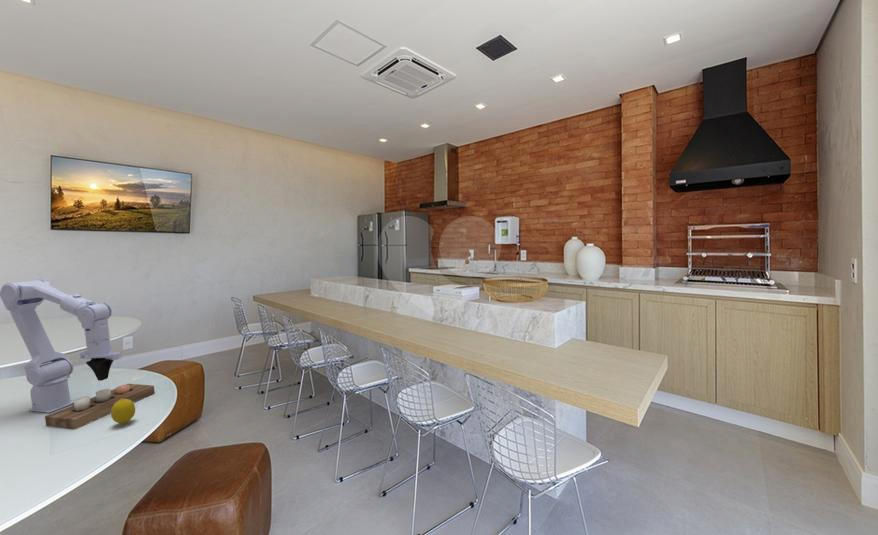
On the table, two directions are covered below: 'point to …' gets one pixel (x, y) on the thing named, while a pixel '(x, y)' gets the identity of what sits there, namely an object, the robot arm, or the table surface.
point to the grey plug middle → (103, 395)
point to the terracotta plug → (122, 389)
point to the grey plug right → (82, 403)
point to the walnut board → (96, 408)
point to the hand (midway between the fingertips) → (103, 379)
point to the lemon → (123, 411)
